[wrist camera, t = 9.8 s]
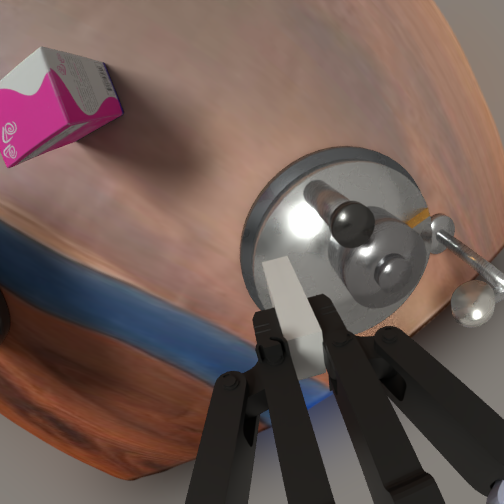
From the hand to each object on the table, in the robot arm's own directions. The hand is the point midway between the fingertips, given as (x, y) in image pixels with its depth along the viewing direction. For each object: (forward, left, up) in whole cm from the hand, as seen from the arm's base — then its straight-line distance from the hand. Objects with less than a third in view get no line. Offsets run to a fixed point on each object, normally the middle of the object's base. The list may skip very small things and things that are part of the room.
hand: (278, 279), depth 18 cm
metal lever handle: (+15, -15, -13) cm, 25 cm away
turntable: (+6, -9, -11) cm, 16 cm away
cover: (+8, -8, -9) cm, 15 cm away
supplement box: (-6, +18, -13) cm, 23 cm away
